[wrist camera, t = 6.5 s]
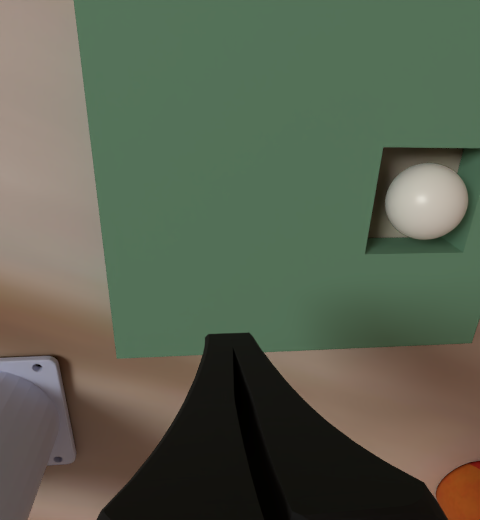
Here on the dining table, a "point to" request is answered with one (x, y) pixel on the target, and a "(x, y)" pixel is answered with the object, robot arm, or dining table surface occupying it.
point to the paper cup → (461, 493)
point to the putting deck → (278, 169)
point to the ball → (426, 201)
